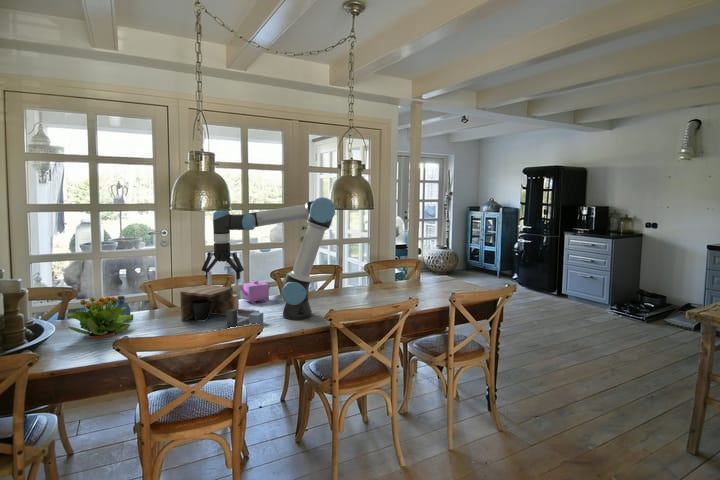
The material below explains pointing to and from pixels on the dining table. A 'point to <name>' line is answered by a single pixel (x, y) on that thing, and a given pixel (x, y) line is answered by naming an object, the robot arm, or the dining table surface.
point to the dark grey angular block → (233, 317)
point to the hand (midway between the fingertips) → (223, 285)
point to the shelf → (209, 293)
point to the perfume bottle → (122, 305)
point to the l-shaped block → (235, 302)
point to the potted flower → (101, 318)
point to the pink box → (255, 291)
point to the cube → (256, 318)
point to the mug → (202, 309)
